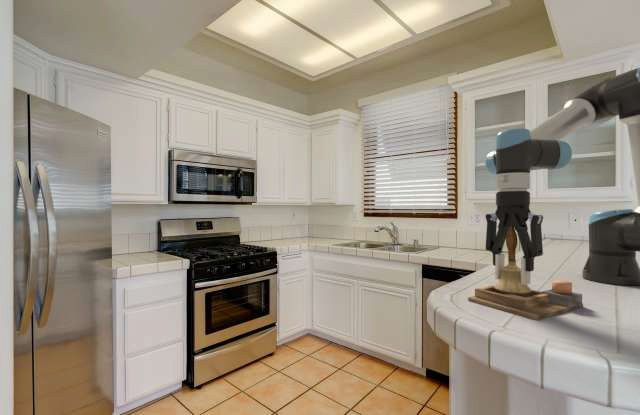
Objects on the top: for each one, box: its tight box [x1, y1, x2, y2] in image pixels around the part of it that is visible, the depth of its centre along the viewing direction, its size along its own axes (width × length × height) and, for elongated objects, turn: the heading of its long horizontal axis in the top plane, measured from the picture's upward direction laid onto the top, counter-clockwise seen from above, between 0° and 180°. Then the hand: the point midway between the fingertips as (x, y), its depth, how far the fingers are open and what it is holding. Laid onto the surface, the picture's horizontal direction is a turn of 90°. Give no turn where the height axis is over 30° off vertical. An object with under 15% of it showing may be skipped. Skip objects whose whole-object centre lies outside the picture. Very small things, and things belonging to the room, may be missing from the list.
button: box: [551, 279, 573, 294], centre depth 82 cm, size 4×4×2 cm
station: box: [467, 284, 584, 321], centre depth 83 cm, size 20×17×3 cm
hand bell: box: [494, 227, 532, 293], centre depth 84 cm, size 8×8×16 cm
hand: (512, 281), depth 84 cm, fingers closed on hand bell, 6 cm apart
